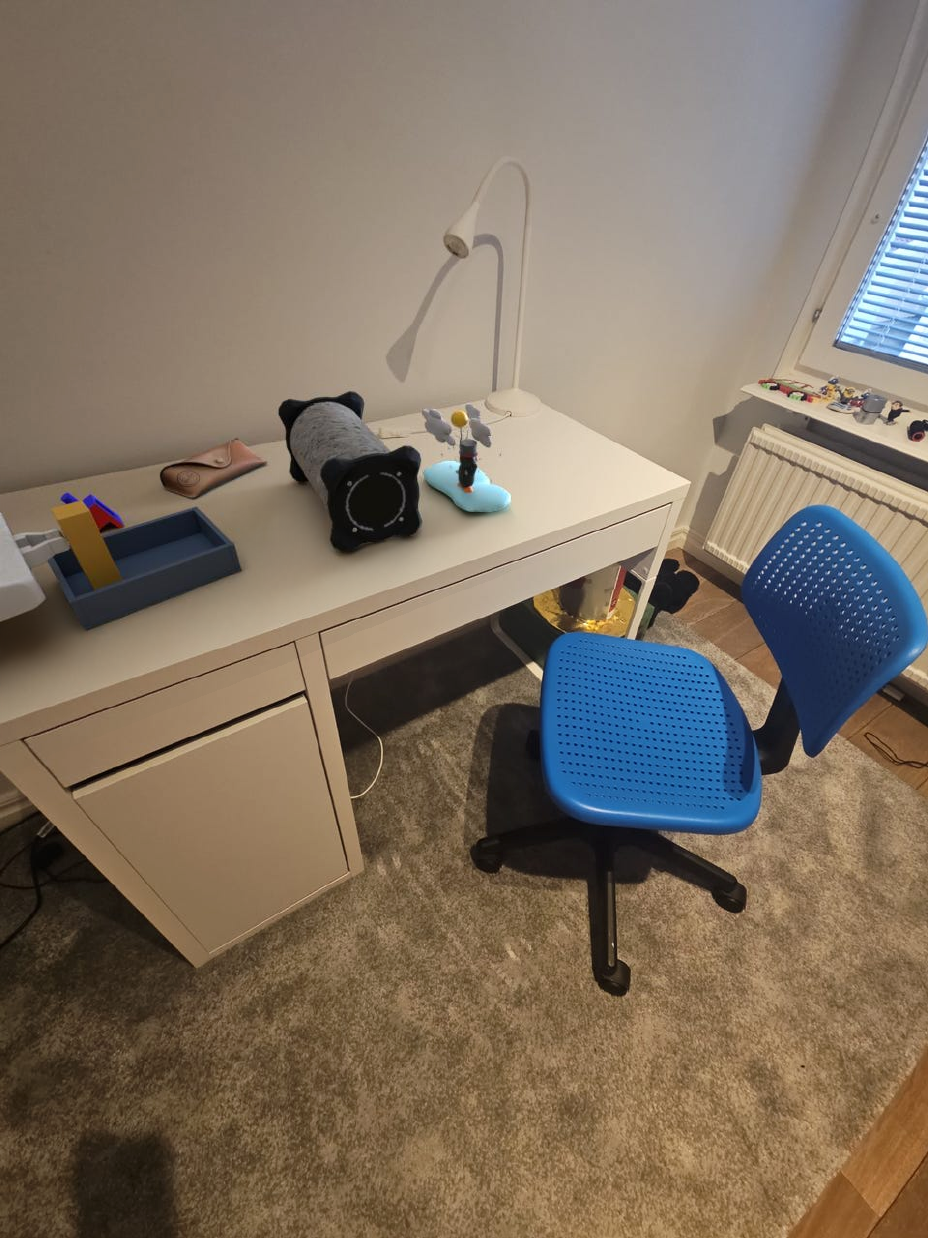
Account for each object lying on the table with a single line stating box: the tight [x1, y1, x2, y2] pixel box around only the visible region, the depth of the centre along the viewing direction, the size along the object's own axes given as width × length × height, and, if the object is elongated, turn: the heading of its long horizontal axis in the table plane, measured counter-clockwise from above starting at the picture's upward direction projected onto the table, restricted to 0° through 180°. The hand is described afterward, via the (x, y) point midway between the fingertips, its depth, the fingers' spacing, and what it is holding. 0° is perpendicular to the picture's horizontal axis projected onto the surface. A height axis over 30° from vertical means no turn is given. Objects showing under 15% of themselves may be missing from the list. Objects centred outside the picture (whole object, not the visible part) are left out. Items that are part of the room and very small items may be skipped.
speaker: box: [277, 390, 423, 553], centre depth 89 cm, size 15×28×15 cm, turn 27°
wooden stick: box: [50, 499, 123, 590], centre depth 70 cm, size 4×4×12 cm
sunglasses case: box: [159, 437, 268, 499], centre depth 100 cm, size 18×7×7 cm
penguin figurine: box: [421, 403, 512, 513], centre depth 94 cm, size 20×11×15 cm, turn 30°
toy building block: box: [59, 492, 124, 531], centre depth 84 cm, size 4×4×8 cm
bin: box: [46, 506, 242, 631], centre depth 76 cm, size 21×14×5 cm, turn 132°
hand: (65, 538), depth 68 cm, fingers closed
